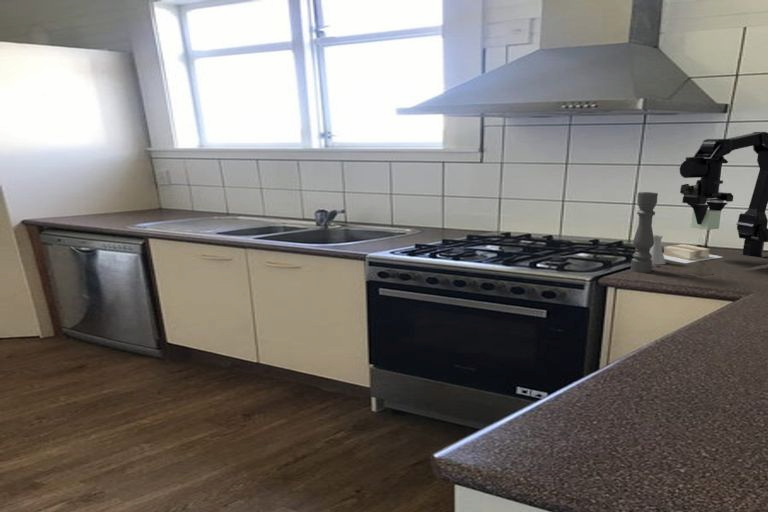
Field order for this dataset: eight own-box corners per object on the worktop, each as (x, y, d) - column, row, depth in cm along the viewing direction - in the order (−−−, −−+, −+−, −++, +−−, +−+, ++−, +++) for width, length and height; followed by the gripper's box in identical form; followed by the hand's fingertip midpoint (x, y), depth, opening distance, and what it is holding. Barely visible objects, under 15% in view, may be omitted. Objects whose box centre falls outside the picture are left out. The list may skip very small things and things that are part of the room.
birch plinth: (682, 252, 199) (683, 244, 199) (708, 257, 191) (709, 248, 190) (663, 255, 195) (664, 246, 195) (689, 260, 186) (690, 251, 186)
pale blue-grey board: (686, 252, 203) (686, 249, 203) (723, 259, 191) (723, 256, 191) (648, 258, 195) (648, 255, 195) (684, 266, 183) (684, 263, 183)
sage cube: (701, 226, 191) (703, 208, 190) (718, 228, 186) (721, 210, 184) (690, 227, 188) (692, 210, 187) (707, 230, 183) (709, 212, 182)
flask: (670, 267, 182) (673, 237, 179) (648, 267, 182) (651, 237, 180) (660, 262, 189) (662, 233, 186) (639, 262, 189) (641, 234, 187)
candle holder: (655, 270, 177) (663, 193, 172) (643, 273, 174) (650, 194, 169) (638, 267, 182) (645, 191, 177) (626, 269, 179) (632, 192, 174)
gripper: (704, 174, 194) (699, 218, 198) (670, 176, 186) (665, 222, 189) (736, 176, 185) (731, 222, 188) (701, 178, 176) (696, 226, 180)
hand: (705, 223), depth 187 cm, fingers closed on sage cube, 6 cm apart
